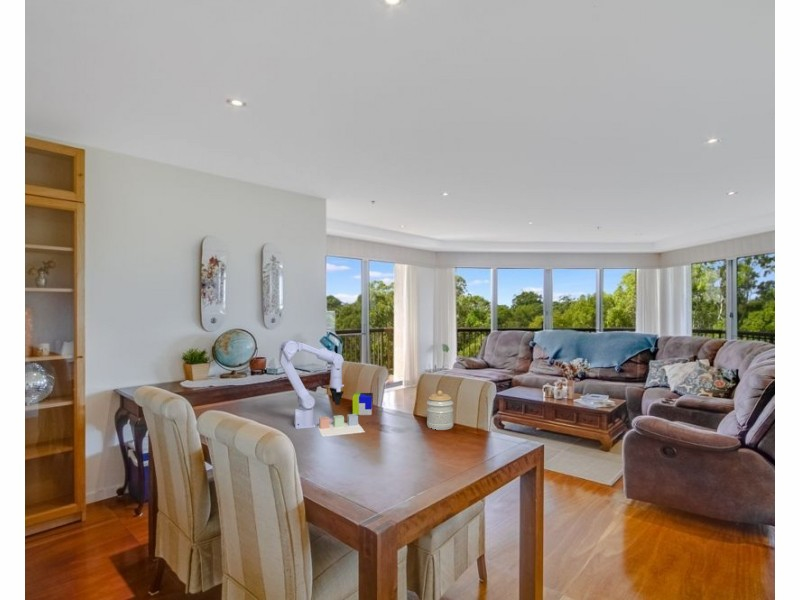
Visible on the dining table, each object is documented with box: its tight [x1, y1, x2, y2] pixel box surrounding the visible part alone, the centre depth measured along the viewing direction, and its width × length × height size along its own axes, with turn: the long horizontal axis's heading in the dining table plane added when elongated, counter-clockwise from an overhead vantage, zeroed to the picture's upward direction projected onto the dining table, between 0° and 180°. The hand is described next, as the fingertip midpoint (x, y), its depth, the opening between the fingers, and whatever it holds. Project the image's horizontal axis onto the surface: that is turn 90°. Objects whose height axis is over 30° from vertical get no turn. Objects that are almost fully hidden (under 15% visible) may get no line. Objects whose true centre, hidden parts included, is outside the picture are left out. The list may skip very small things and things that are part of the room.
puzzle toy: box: [352, 392, 374, 416], centre depth 235 cm, size 10×10×10 cm
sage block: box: [332, 414, 345, 427], centre depth 210 cm, size 4×4×4 cm
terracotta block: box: [318, 415, 331, 429], centre depth 208 cm, size 4×4×4 cm
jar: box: [426, 390, 454, 431], centre depth 209 cm, size 13×13×18 cm
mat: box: [317, 422, 366, 438], centre depth 206 cm, size 20×18×1 cm
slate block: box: [346, 413, 359, 426], centre depth 213 cm, size 4×4×4 cm
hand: (336, 403), depth 219 cm, fingers open, 7 cm apart
